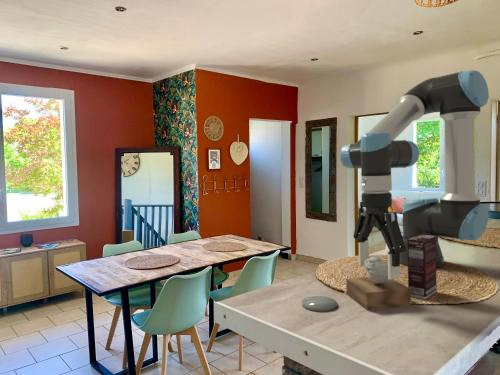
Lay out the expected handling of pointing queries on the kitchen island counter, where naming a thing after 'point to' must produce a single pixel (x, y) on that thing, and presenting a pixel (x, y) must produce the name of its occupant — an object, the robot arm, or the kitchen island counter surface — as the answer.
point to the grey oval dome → (319, 303)
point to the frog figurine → (376, 270)
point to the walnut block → (378, 293)
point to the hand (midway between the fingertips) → (377, 271)
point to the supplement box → (422, 266)
